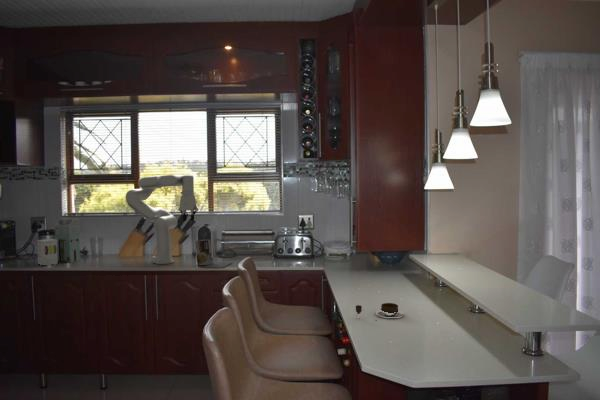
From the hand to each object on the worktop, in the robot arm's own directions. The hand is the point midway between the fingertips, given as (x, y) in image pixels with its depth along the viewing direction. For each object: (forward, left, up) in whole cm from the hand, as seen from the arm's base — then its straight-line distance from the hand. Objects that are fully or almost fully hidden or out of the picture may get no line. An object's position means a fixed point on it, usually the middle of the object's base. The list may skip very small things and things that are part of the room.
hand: (188, 220), depth 318 cm
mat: (+21, -1, -29) cm, 36 cm away
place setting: (+135, -86, -30) cm, 163 cm away
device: (-90, -8, -30) cm, 96 cm away
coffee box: (+12, 0, -29) cm, 31 cm away
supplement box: (-94, -22, -30) cm, 101 cm away
